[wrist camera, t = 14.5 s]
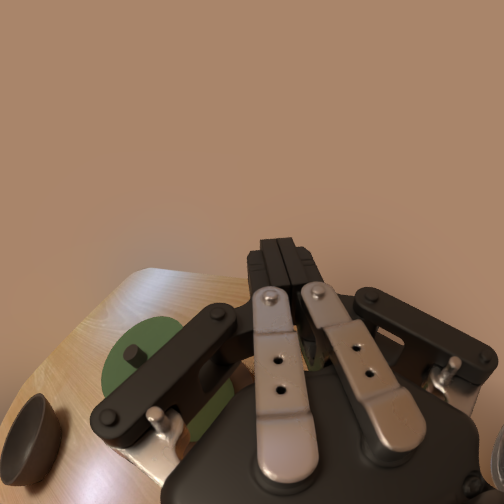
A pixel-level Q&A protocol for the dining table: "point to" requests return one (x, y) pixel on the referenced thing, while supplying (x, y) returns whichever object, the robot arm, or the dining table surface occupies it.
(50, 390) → the dining table surface
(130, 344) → the pot
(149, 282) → the dining table surface
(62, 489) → the dining table surface
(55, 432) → the bowl
